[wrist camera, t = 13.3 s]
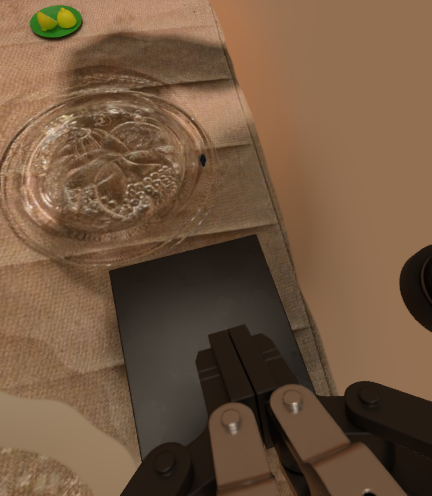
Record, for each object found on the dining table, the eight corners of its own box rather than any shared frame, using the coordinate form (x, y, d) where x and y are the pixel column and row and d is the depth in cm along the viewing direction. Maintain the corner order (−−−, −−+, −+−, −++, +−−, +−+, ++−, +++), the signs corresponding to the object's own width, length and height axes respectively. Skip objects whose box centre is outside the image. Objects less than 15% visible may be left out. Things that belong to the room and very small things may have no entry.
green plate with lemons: (53, 48, 54) (45, 30, 51) (21, 25, 56) (12, 7, 53) (93, 24, 56) (88, 5, 54) (61, 3, 58) (54, -16, 56)
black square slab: (110, 273, 29) (108, 270, 29) (254, 237, 31) (256, 233, 30) (144, 469, 24) (142, 471, 23) (319, 411, 25) (323, 411, 25)
